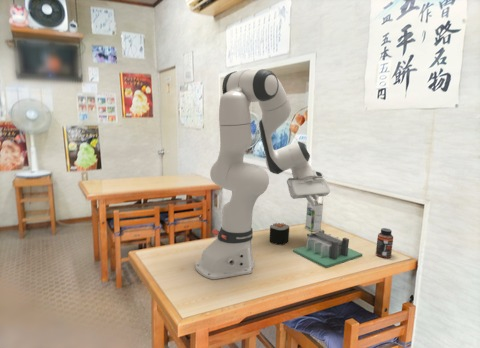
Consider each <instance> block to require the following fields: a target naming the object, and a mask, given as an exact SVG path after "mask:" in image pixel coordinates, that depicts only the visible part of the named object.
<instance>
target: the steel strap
mask: <svg viewBox="0 0 480 348" xmlns="http://www.w3.org/2000/svg"><path fill="white" fill-rule="evenodd" d="M312 233H313V236H315V237H317V238H320V239H322V240H324V241H326V242H329V243H332V241H337V242H338V245H342V244H343V241H341V240H342V239H340V240H338V239H339V238H338V239H336V238H333V237H334V236H333V237H331V236H332V235H331V236H329V235H326V234H327V233H325V232H324V233H325V234H324V233H321V232H319V231H315V232H312Z"/></svg>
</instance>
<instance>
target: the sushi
mask: <svg viewBox="0 0 480 348" xmlns="http://www.w3.org/2000/svg"><path fill="white" fill-rule="evenodd" d="M289 239H290V225H288V224H286V223H283V222H281V223H280V222H278V223H277V222H276V223H272V224H270V225H269V240H268V242H269V243H271V244H273V245H274V244H275V245H280V246H281V245H286V244H288V243H289V241H290V240H289Z"/></svg>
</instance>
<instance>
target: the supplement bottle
mask: <svg viewBox="0 0 480 348" xmlns="http://www.w3.org/2000/svg"><path fill="white" fill-rule="evenodd" d="M393 243H394V235H392V230H391V229H390V228H386V227H385V228H384V227H383V228H381V229H380V233H378V234H377V240H376V248H375V255H377V256H378V257H380V258H384V259H390V258H391V256H392V251H393Z"/></svg>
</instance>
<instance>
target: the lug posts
mask: <svg viewBox="0 0 480 348" xmlns="http://www.w3.org/2000/svg"><path fill="white" fill-rule="evenodd" d="M341 240H342V241H343V244H342V250H341V255H343V256H348V248H349V245H350V244H349V242H350V239H349V238H347V237H343V238H342V239H341ZM337 251H338V242H337V241H332V243H331V255H330V258H332V259H334V260H335V259H337Z"/></svg>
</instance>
